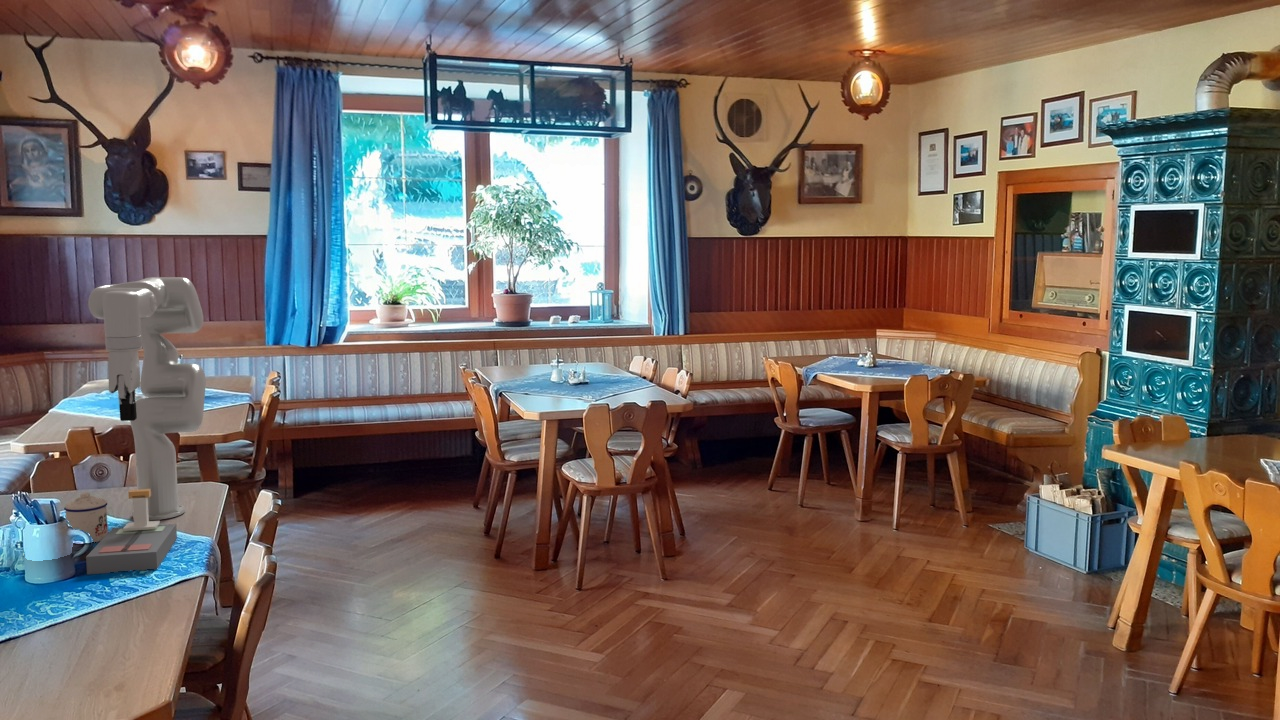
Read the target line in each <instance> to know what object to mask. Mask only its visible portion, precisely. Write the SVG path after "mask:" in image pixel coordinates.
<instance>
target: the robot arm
mask: <svg viewBox="0 0 1280 720" xmlns="http://www.w3.org/2000/svg"><path fill="white" fill-rule="evenodd" d="M87 304H88V306H87V307H88V310H89V312H90V314H91V315H92V316H93V317H94V318H95V319H98V320H103V325H104V326H103V327H104V328H103V329H104V341H105V351H106V352H108V361H107V363H108V364H107V365H108V366H107V367H108V373H107V374H108V375H107V376H108V392H109V393H110V394H114V393H115V392H117V395H118V396H117V397H118V403H119V404H118V407H119V419H120V421H121V422H127V421H129V423H130V426H131V430H132V434H133V439H134V440H133V441H134V451H135V468H136V469H135V470H136V486H137V487H136V490H139V489H151V496H150V497H149V498H148V515H149V521H160V520H167V519H172V518H174V517H178V516H181V515H183V514H184V513H185V512H186V507H185V506H184V505H182V504H180V503H179V494H178V493H179V492H178V472H177V453H176V447H175V445H174V443H173V441H171V439H170V438H169V437H168V436H167V435H166V434H175V433H176V434H177V433H190V432H191V433H192V432H196V431H198V430H199V429H200V428H201V426H202V424H203V418H204V409H205V408H204V407H205V399H206V398H205V397H206V396H205V395H206V374H205V371H204V369H203V367H202V366H201V365H199V364H196V363H188V362H187V363H179V352H178V349H177V348H176V347H175V346H174V344H173V343H172V342H171V341H170V340H169V339H168V338H167V337H165V336H164V335H162V334H193V333H198V332H199V331H200V330H201V329H202V328H203V325H204V313H203V309H202V306H201V302H200V299H199V295H198V292H197V289H196V287H195V286H194V284H193V282H192V281H191V280H190V279H188V278H187V277H183V276H182V277H181V276H179V277H177V276H176V277H173V276H171V277H170V276H167V277H166V276H165V277H164V276H159V277H157V276H151V277H150V276H149V277H145V278H142V279H140V280H136V281H127V282H123V283H115V284H108V285H107V284H105V285H100V286H98V287H95V288H94V289H92V290H91V292H90V294H89V296H88V303H87ZM139 350H140V351H141V350H143V360H142V367H141V369H140V359H139V358H140V357H139V356H140V355H139ZM139 387H140V390H141V393H142V395H143V396H145V397H144V398H139V399H137V400H136V390H137V389H138V388H139ZM131 514H132V515H131V517H132V518H133V519H134V516H133V512H132V513H131Z"/></svg>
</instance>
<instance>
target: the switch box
mask: <svg viewBox="0 0 1280 720" xmlns="http://www.w3.org/2000/svg"><path fill="white" fill-rule="evenodd" d="M124 527H125V526H123V527H122V526H121V527H112V528H111V529H110V530H109V531H108V534H107V535H106V536H105V537H104V538H103V539H102V540H101V541H99V542H97V545H95V546H94V548H93V549H92V550H91V551H90V552H89V553H88V554H87V555H86V557H85V560H86V561H85V563H86V575H97V574H99V575H100V574H111V573H110V572H114V573H119V572H118V571H128V572H134V571H133V570H141V571H148V570H147V569H154V570H158V569H159V567H160V566H161V564H162V563H163V561H164V560H165V558H166V557H167V556H166V555H168V554H169V553H168V552H170V551H171V550H170V549H172V548H173V547H172V545H173V544H174V542H175V541H176V539H177V540H178V533H177V532H178V531H177V523H172V524H171V523H170V524H169V523H168V524H159V525H158V526H157V528H156V529H148V530H133V531H123V528H124ZM176 542H177V541H176ZM176 542H175V543H176ZM174 545H175V544H174ZM174 545H173V546H174ZM171 547H172V548H171ZM169 550H170V551H169ZM167 553H168V554H167ZM165 556H166V557H165ZM163 559H164V560H163ZM161 562H162V563H161ZM159 565H160V566H159ZM157 568H158V569H157ZM130 570H132V571H130Z"/></svg>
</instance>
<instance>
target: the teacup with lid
mask: <svg viewBox="0 0 1280 720" xmlns="http://www.w3.org/2000/svg"><path fill="white" fill-rule="evenodd" d="M107 505H108V502H107V501H106V500H105V499H104V498H100V497H99V498H98V497H96V496H92V495H91V493H90V492H88V491H87V492H86V491H85V492H81V493H80V496H79V497H77V498H75V499H74V500H73V501H69V502H67V503H66V504H65V505H64V511H65V520H66V519H67V520H68V521H69V523H70V525H71V526H72V528H74V529H80V530H83V531H85V532H87V533H89V534H90V536H91V537H92V539H93V542H94V543H93V544H95V542H96V543H99V542H100V541H101V540H102V539H103V538H104V537H105V536H106V535H107V534H108V533H109V527H108V510H107Z"/></svg>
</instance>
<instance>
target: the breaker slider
mask: <svg viewBox="0 0 1280 720" xmlns="http://www.w3.org/2000/svg"><path fill="white" fill-rule="evenodd" d="M127 494H128V499H132V511H133V512H132V513H133V516H134V518H133V522H127V523H126V525H125V526H123V527H124V528H123V531H133V530H148V529H156V528H157V526H158V525H161V521H160V520H149V515H148V498H149V497H150V496H151V489H139V490H138V489H130V490H129V491H128V493H127Z"/></svg>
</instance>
